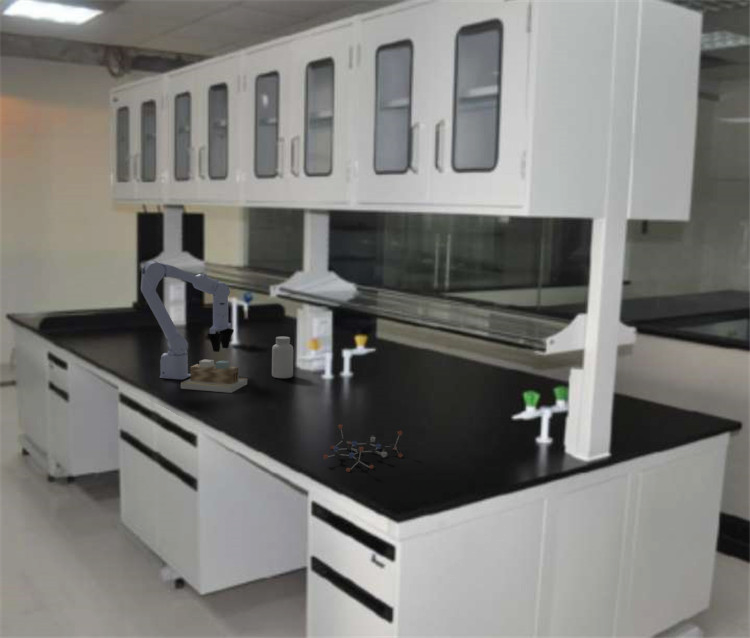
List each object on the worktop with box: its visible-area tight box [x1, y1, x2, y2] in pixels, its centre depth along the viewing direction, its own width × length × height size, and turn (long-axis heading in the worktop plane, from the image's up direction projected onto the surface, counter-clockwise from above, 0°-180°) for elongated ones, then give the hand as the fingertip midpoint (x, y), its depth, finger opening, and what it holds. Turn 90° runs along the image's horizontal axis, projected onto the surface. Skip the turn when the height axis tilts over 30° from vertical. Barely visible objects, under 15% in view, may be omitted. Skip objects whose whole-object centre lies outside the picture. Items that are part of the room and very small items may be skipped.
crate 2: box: [214, 360, 231, 369], centre depth 284 cm, size 4×4×2 cm
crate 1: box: [198, 358, 215, 368], centre depth 286 cm, size 4×4×2 cm
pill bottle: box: [271, 335, 294, 379], centre depth 303 cm, size 8×8×15 cm
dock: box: [180, 377, 248, 394], centre depth 286 cm, size 19×14×2 cm
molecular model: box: [323, 422, 403, 473], centre depth 211 cm, size 24×7×20 cm
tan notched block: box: [189, 363, 239, 384], centre depth 285 cm, size 16×5×5 cm, turn 76°
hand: (220, 349), depth 304 cm, fingers open, 7 cm apart
